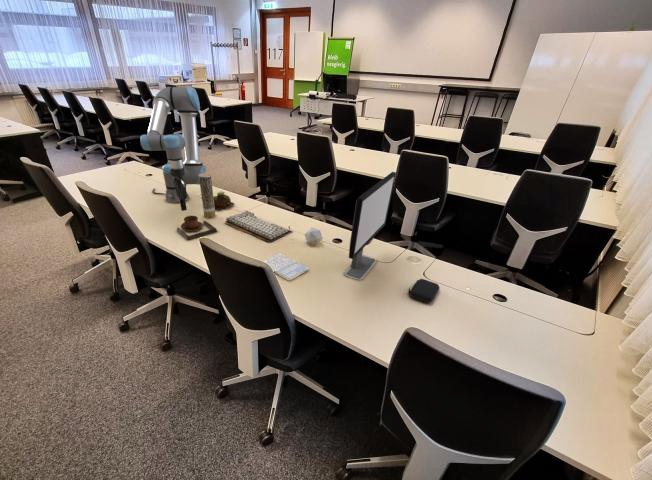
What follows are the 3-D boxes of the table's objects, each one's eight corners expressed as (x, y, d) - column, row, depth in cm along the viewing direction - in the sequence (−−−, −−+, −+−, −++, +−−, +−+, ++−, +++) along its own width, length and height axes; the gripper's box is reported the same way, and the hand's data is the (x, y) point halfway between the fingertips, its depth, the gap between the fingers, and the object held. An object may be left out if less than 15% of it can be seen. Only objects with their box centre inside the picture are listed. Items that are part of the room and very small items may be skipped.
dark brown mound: (219, 199, 224) (217, 185, 218) (239, 204, 218) (238, 189, 213) (203, 208, 211) (201, 193, 205) (224, 213, 206) (222, 197, 200)
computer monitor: (352, 290, 142) (368, 200, 118) (334, 284, 145) (346, 195, 121) (383, 252, 170) (401, 173, 146) (368, 248, 173) (383, 169, 149)
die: (324, 244, 177) (320, 226, 177) (321, 243, 168) (317, 224, 168) (309, 248, 179) (305, 230, 179) (306, 247, 171) (301, 228, 170)
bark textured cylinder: (216, 214, 204) (212, 173, 189) (213, 218, 198) (208, 176, 184) (206, 213, 204) (200, 172, 189) (202, 218, 199) (197, 176, 184)
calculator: (278, 255, 165) (278, 252, 164) (308, 270, 154) (309, 267, 153) (259, 264, 157) (258, 261, 156) (289, 281, 146) (289, 278, 145)
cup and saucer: (196, 234, 181) (194, 224, 177) (177, 231, 184) (175, 220, 180) (207, 225, 190) (205, 215, 187) (189, 222, 193) (187, 212, 190)
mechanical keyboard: (292, 231, 187) (292, 226, 185) (269, 243, 175) (269, 237, 173) (245, 214, 206) (245, 208, 204) (222, 223, 194) (221, 218, 192)
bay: (177, 231, 184) (176, 228, 183) (205, 223, 193) (204, 220, 192) (188, 240, 175) (187, 237, 174) (216, 232, 184) (216, 228, 183)
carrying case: (415, 281, 149) (404, 296, 139) (416, 275, 147) (406, 290, 137) (439, 289, 144) (430, 306, 134) (441, 283, 142) (432, 300, 132)
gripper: (164, 165, 176) (173, 207, 190) (175, 171, 168) (182, 215, 182) (178, 163, 180) (185, 204, 194) (188, 169, 172) (195, 212, 186)
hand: (184, 209), depth 188 cm, fingers closed
